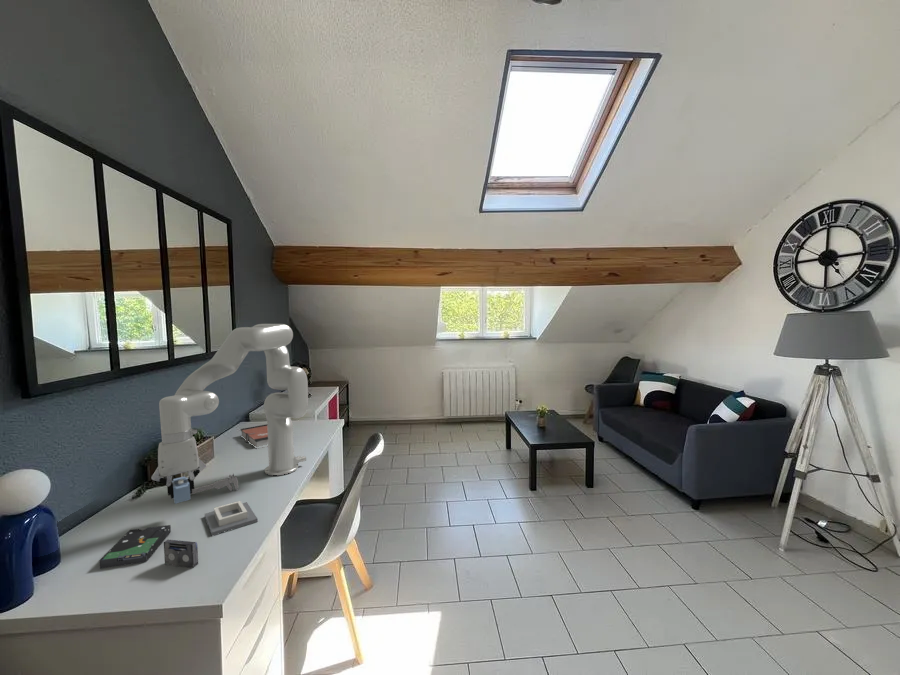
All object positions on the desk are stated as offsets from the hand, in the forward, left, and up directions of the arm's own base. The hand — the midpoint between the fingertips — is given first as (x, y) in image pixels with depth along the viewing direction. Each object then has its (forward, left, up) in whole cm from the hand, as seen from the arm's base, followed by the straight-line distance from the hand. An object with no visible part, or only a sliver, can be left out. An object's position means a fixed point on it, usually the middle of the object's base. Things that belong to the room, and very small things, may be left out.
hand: (181, 493), depth 121 cm
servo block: (0, 0, -1) cm, 1 cm away
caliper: (-8, -16, -8) cm, 20 cm away
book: (-41, -70, -8) cm, 81 cm away
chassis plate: (-11, +10, -8) cm, 17 cm away
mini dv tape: (+3, +27, -8) cm, 29 cm away
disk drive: (+11, +12, -9) cm, 18 cm away
